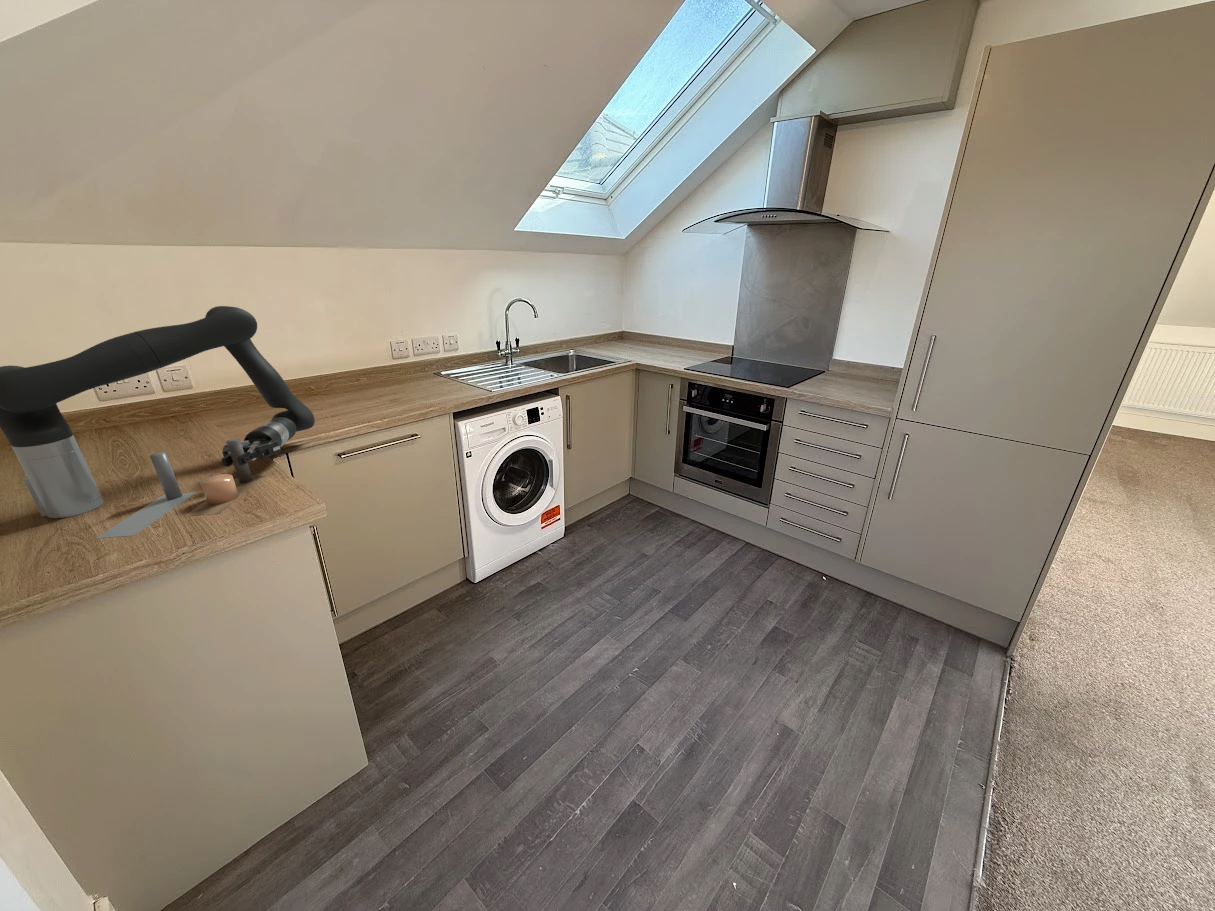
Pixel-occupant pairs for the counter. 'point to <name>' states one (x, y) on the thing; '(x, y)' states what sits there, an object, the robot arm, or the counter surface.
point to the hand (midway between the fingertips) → (232, 462)
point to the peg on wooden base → (242, 482)
